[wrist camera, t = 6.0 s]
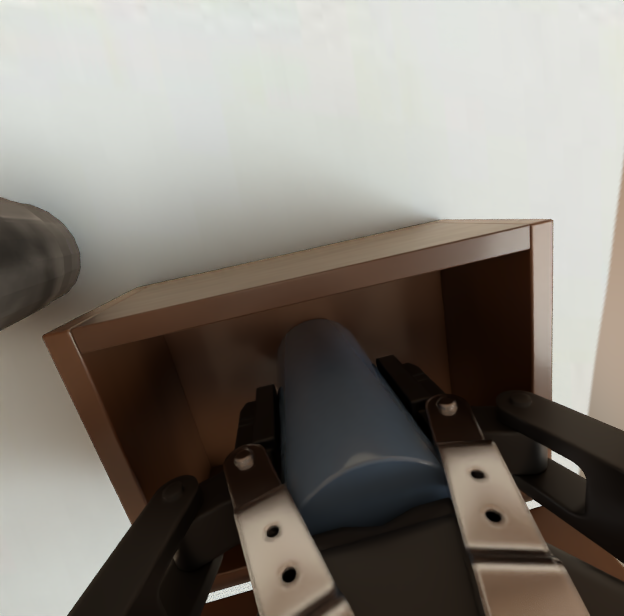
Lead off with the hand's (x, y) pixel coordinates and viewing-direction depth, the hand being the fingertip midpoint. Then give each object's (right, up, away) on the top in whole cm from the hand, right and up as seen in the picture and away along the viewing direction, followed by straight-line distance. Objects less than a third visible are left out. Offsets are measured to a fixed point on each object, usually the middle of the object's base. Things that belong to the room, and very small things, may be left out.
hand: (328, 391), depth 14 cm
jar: (0, +1, +3) cm, 3 cm away
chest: (0, +1, +4) cm, 4 cm away
